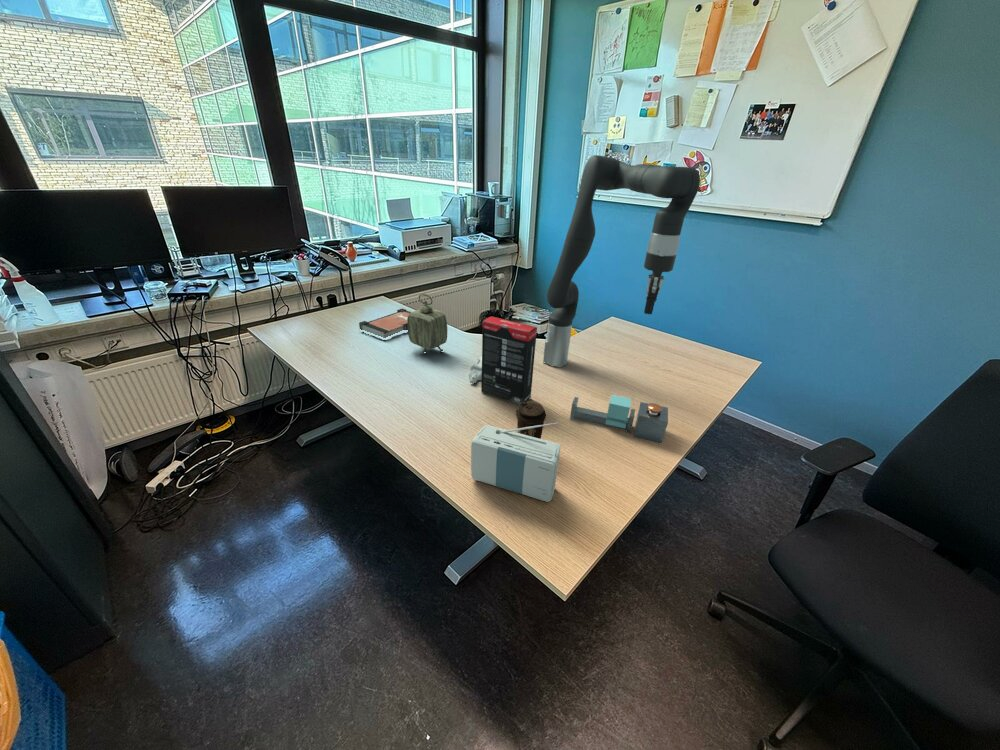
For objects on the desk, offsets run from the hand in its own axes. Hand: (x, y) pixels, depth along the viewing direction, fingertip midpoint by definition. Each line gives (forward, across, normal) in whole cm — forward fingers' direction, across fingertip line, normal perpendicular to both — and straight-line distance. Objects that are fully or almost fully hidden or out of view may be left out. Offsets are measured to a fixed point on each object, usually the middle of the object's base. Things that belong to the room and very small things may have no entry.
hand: (647, 313), depth 113 cm
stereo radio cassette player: (+35, +44, -24) cm, 61 cm away
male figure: (+36, -10, -54) cm, 66 cm away
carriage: (+33, +8, -2) cm, 34 cm away
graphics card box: (+35, +5, -40) cm, 54 cm away
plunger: (+32, +8, +8) cm, 34 cm away
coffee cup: (+35, +28, -25) cm, 51 cm away
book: (+36, -32, -109) cm, 119 cm away
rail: (+35, +8, -7) cm, 37 cm away
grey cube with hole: (+35, +8, +8) cm, 37 cm away
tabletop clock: (+35, -15, -82) cm, 90 cm away
